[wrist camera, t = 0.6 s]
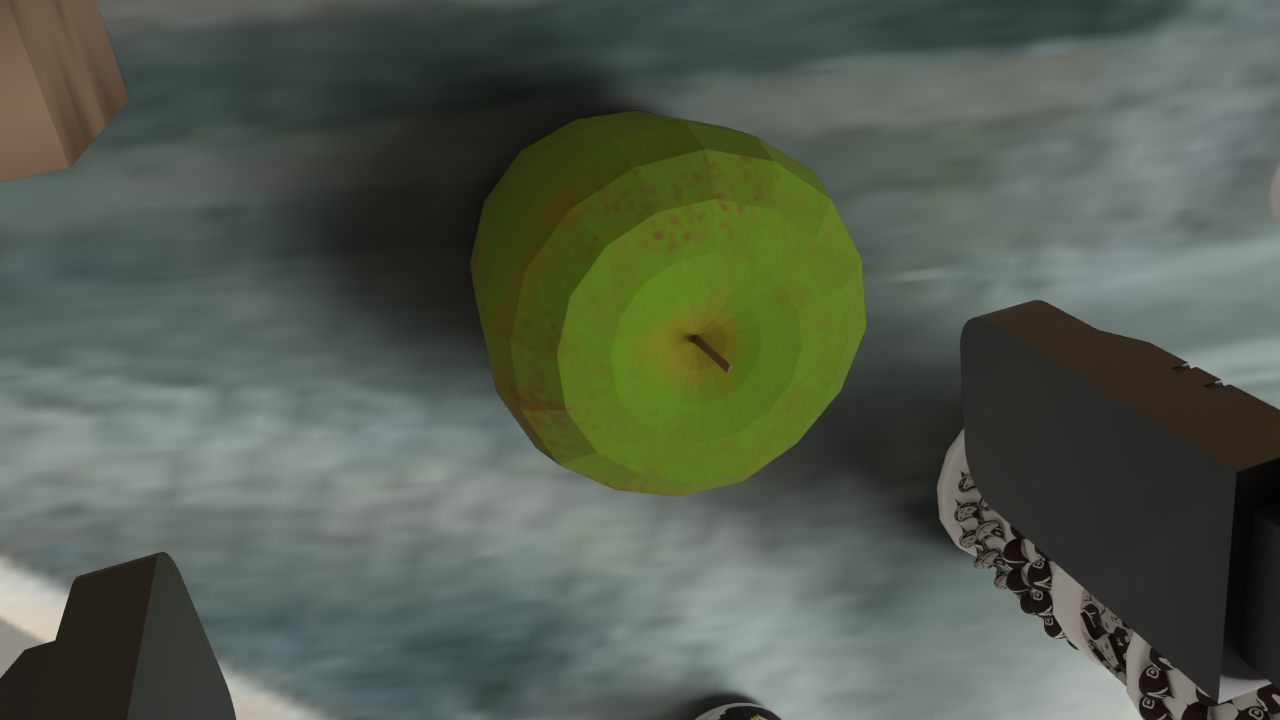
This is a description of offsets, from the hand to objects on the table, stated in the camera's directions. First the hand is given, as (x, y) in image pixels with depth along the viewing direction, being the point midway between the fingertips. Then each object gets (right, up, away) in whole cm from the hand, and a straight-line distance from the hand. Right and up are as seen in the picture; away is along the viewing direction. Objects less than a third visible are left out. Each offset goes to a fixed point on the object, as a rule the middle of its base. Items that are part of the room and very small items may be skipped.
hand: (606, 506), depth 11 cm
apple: (-1, +5, +28) cm, 28 cm away
